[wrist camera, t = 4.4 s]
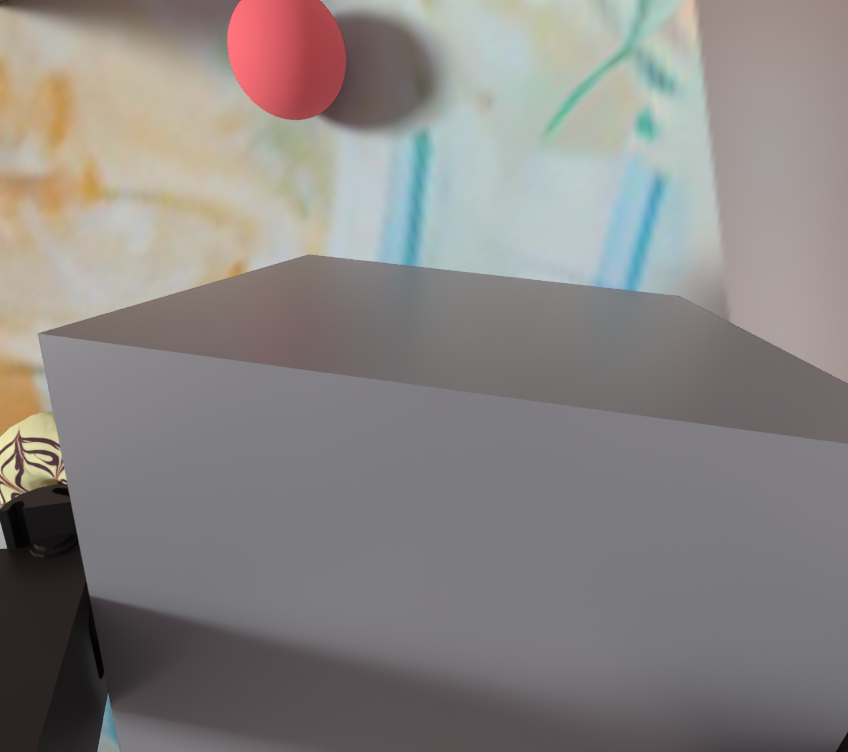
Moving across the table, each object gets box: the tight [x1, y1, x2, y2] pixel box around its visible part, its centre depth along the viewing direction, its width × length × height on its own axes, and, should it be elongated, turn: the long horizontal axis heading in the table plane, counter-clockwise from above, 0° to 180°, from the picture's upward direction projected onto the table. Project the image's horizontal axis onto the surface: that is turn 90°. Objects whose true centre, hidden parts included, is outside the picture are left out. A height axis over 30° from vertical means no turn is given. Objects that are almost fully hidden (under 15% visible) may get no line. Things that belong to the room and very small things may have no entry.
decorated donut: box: [0, 412, 67, 507], centre depth 33 cm, size 10×11×4 cm
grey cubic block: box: [38, 255, 848, 752], centre depth 11 cm, size 10×10×9 cm
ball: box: [227, 0, 346, 120], centre depth 21 cm, size 5×5×5 cm
